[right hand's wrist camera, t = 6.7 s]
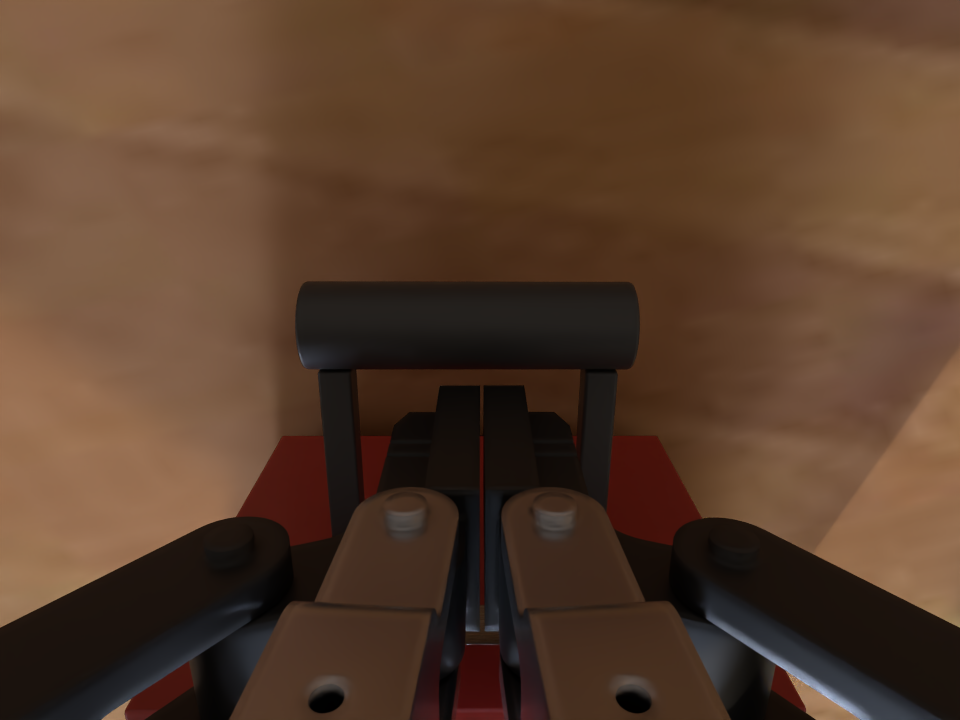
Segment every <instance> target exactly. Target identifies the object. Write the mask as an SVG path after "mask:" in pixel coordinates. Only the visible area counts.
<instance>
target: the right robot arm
mask: <svg viewBox="0 0 960 720" xmlns="http://www.w3.org/2000/svg"><path fill="white" fill-rule="evenodd" d="M483 508H484V623H485V631H499V643H500V662H499V681H500V689H501V697H502V705H503V713H504V720H815V719H814V718H813V717H811V716H810V715H808V714H807V713H805V712H804V711H802V710H801V709H799V708H798V707H796V706H795V705H793V704H792V703H791V702H789V701H788V700H786V699H785V698H783V697H782V696H780V695H779V694H777V693H776V692H774V691H773V690H772V689H771V686H772V681H773V676H774V671H775V666H776V665H778V666H780V667H781V668H783V669H784V670H786V671H787V672H789V673H790V674H792V675H793V676H795V677H796V678H798V679H800V680H801V681H803V682H804V683H806V684H807V685H809V686H810V687H812V688H813V689H815V690H816V691H818V692H820V693H821V694H823V695H824V696H826V697H827V698H829V699H830V700H832V701H833V702H835V703H836V704H838V705H840V706H841V707H843V708H844V709H846V710H847V711H849V712H850V713H852V714H853V715H855V716H856V717H857V718H859V719H860V720H960V628H959V627H957V626H955V625H953V624H951V623H949V622H947V621H945V620H943V619H941V618H939V617H937V616H935V615H933V614H931V613H929V612H927V611H925V610H923V609H921V608H919V607H917V606H915V605H913V604H911V603H909V602H907V601H905V600H903V599H901V598H899V597H897V596H895V595H893V594H891V593H889V592H887V591H885V590H883V589H881V588H879V587H877V586H875V585H873V584H871V583H869V582H867V581H865V580H863V579H861V578H859V577H857V576H855V575H853V574H851V573H849V572H847V571H845V570H843V569H841V568H839V567H837V566H835V565H833V564H831V563H829V562H827V561H825V560H823V559H821V558H819V557H817V556H815V555H813V554H811V553H809V552H807V551H805V550H803V549H801V548H799V547H797V546H795V545H793V544H791V543H789V542H787V541H785V540H784V539H782V538H780V537H778V536H776V535H774V534H772V533H770V532H768V531H766V530H764V529H761V528H759V527H757V526H754V525H751V524H749V523H746V522H742V521H738V520H733V519H726V518H703V519H697V520H694V521H690V522H688V523H686V524H684V525H683V526H681V527H680V528H679V529H678V530H677V531H676V533H675V535H674V537H673V545H667V544H662V543H657V542H653V541H648V540H643V539H639V538H635V537H632V536H629V535H626V534H624V533H622V532H620V531H617V530H615V529H614V528H613V526H612V524H611V522H610V520H609V517H608V515H607V513H606V511H605V509H604V508H603V507H602V506H601V505H600V503H598V502H597V501H596V500H594V499H593V498H591V497H589V494H588V491H587V487H586V483H585V480H584V476H583V472H582V469H581V465H580V462H579V458H578V457H577V451H576V447H575V444H574V440H573V436H572V433H571V429H570V426H569V424H567V423H566V422H565V421H564V420H563V419H561V418H560V417H559V416H558V415H557V414H556V413H554V412H528V408H527V402H526V395H525V389H524V385H484V395H483ZM466 632H480V386H440V387H439V393H438V400H437V407H436V412H409V413H408V414H407V415H406V416H405V417H403V418H402V419H401V420H400V421H399V422H398V423H396V424H395V425H394V428H393V432H392V436H391V439H390V444H389V447H388V451H387V457H386V458H385V462H384V466H383V470H382V473H381V477H380V481H379V485H378V488H377V492H376V494H375V495H372V496H371V497H369V498H367V499H366V500H364V501H363V502H362V503H360V505H359V506H358V507H357V508H356V509H355V511H354V513H353V515H352V517H351V520H350V522H349V524H348V526H347V529H346V531H345V532H344V533H341V534H339V535H336V536H333V537H330V538H327V539H323V540H319V541H314V542H309V543H304V544H299V545H294V546H290V539H289V535H288V532H287V530H286V529H285V528H284V527H283V526H282V525H280V524H279V523H277V522H275V521H273V520H270V519H267V518H262V517H251V516H245V517H234V518H228V519H224V520H220V521H216V522H213V523H210V524H207V525H205V526H203V527H201V528H198V529H196V530H194V531H192V532H190V533H188V534H186V535H184V536H183V537H181V538H179V539H177V540H175V541H173V542H171V543H169V544H167V545H165V546H163V547H161V548H159V549H157V550H155V551H153V552H151V553H149V554H147V555H145V556H143V557H141V558H139V559H137V560H135V561H133V562H131V563H129V564H127V565H125V566H123V567H121V568H119V569H117V570H115V571H113V572H111V573H109V574H107V575H105V576H103V577H101V578H99V579H97V580H95V581H93V582H91V583H89V584H87V585H85V586H83V587H81V588H79V589H77V590H75V591H73V592H71V593H69V594H67V595H65V596H63V597H61V598H59V599H57V600H55V601H53V602H51V603H49V604H47V605H45V606H43V607H41V608H39V609H37V610H35V611H33V612H31V613H29V614H27V615H25V616H23V617H21V618H19V619H17V620H15V621H13V622H11V623H9V624H7V625H5V626H3V627H1V628H0V720H101V719H102V718H104V717H105V716H106V715H107V714H109V713H110V712H111V711H113V710H114V709H116V708H117V707H119V706H120V705H122V704H124V703H125V702H127V701H128V700H130V699H131V698H133V697H134V696H136V695H137V694H139V693H140V692H142V691H144V690H145V689H147V688H148V687H150V686H151V685H153V684H154V683H156V682H157V681H159V680H160V679H162V678H164V677H165V676H167V675H168V674H170V673H171V672H173V671H174V670H176V669H177V668H179V667H180V666H182V665H184V664H185V663H187V662H188V661H189V665H190V670H191V675H192V680H193V685H194V686H193V687H191V688H190V689H189V690H187V691H186V692H184V693H183V694H181V695H180V696H178V697H177V698H175V699H174V700H172V701H171V702H169V703H168V704H167V705H165V706H164V707H162V708H161V709H159V710H158V711H156V712H155V713H153V714H152V715H150V716H149V717H147V718H146V719H145V720H456V713H457V705H458V697H459V689H460V681H461V661H462V658H463V656H464V652H465V637H466Z"/></svg>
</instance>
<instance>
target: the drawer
mask: <svg viewBox="0 0 960 720" xmlns="http://www.w3.org/2000/svg"><path fill="white" fill-rule="evenodd" d="M295 333H296V343H297V349H298V354H299V357H300V360H301V363H302V365H303V366H304V367H305V368H307V369H320V370H319V372H318V382H319V393H320V405H321V416H322V427H323V436H283V437H282V438H281V440H280V441H279V443H278V445H277V447H276V448H275V450H274V452H273V454H272V455H271V457H270V459H269V461H268V462H267V464H266V466H265V468H264V469H263V471H262V473H261V475H260V476H259V478H258V480H257V481H256V483H255V485H254V487H253V488H252V490H251V492H250V494H249V495H248V497H247V499H246V501H245V502H244V504H243V506H242V508H241V509H240V511H239V513H238V515H237V516H236V517H245V516H251V517H262V518H267V519H270V520H273V521H275V522H277V523H279V524H280V525H282V526H283V527H284V528H285V529H286V530H287V532H288V535H289V539H290V546H294V545H299V544H304V543H309V542H314V541H319V540H323V539H327V538H330V537H333V536H336V535H339V534H341V533H344V532H345V531H346V529H347V526H348V524H349V522H350V520H351V517H352V515H353V513H354V511H355V509H356V508H357V507H358V506H359V505H360V503H362V502H363V501H364V500H366V499H367V498H369V497H371V496H372V495H375V494H376V492H377V488H378V485H379V481H380V477H381V473H382V470H383V466H384V462H385V458H386V457H387V451H388V447H389V444H390V439H391V436H360V420H359V405H358V390H357V375H356V369H581V373H580V390H579V406H578V423H577V436H573V440H574V444H575V447H576V451H577V457H578V458H579V462H580V465H581V469H582V472H583V476H584V480H585V483H586V487H587V491H588V494H589V497H591V498H593V499H594V500H596V501H597V502H598V503H600V505H601V506H602V507H603V508H604V509H605V511H606V513H607V515H608V517H609V520H610V522H611V524H612V526H613V528H614V529H615V530H617V531H620V532H622V533H624V534H626V535H629V536H632V537H635V538H639V539H643V540H648V541H653V542H657V543H662V544H667V545H673V537H674V535H675V533H676V531H677V530H678V529H679V528H680V527H681V526H683V525H684V524H686V523H688V522H690V521H694V520H697V519H702V517H701V516H700V514H699V512H698V510H697V508H696V506H695V505H694V503H693V501H692V499H691V497H690V496H689V494H688V492H687V490H686V488H685V486H684V485H683V483H682V481H681V479H680V477H679V475H678V474H677V472H676V470H675V468H674V466H673V464H672V463H671V461H670V459H669V457H668V455H667V454H666V452H665V450H664V448H663V446H662V444H661V443H660V441H659V439H658V437H657V436H613V427H614V415H615V403H616V390H617V378H618V374H617V371H616V370H615V369H629V368H631V367H632V366H633V364H634V361H635V358H636V355H637V350H638V344H639V334H640V314H639V304H638V298H637V294H636V290H635V288H634V286H633V284H631V283H629V282H305V283H304V284H303V285H302V286H301V288H300V291H299V294H298V298H297V304H296V314H295ZM499 662H500V643H499V631H485V623H484V508H483V436H480V632H466V637H465V652H464V656H463V658H462V661H461V681H460V689H459V697H458V705H457V713H456V720H504V713H503V705H502V697H501V689H500V681H499ZM193 686H194V685H193V680H192V675H191V670H190V665H189V661H188V662H187V663H185V664H184V665H182V666H180V667H179V668H177V669H176V670H174V671H173V672H171V673H170V674H168V675H167V676H165V677H164V678H162V679H160V680H159V681H157V682H156V683H154V684H153V685H151V686H150V687H148V688H147V689H145V690H144V691H142V692H140V693H139V694H137V695H136V696H134V697H133V698H132V699H131V701H130V702H129V704H128V706H127V708H126V710H125V718H126V720H145V719H146V718H147V717H149V716H150V715H152V714H153V713H155V712H156V711H158V710H159V709H161V708H162V707H164V706H165V705H167V704H168V703H169V702H171V701H172V700H174V699H175V698H177V697H178V696H180V695H181V694H183V693H184V692H186V691H187V690H189V689H190V688H191V687H193ZM771 689H772V690H773V691H774V692H776V693H777V694H779V695H780V696H782V697H783V698H785V699H786V700H788V701H789V702H791V703H792V704H793V705H795V706H796V707H798V708H799V709H801V710H802V711H804V712H805V713H806V708H805V706H804V704H803V702H802V700H801V698H800V696H799V695H798V693H797V691H796V689H795V687H794V685H793V684H792V682H791V680H790V678H789V676H788V674H787V673H786V671H785V670H784V669H783V668H781V667H780V666H778V665H776V666H775V671H774V676H773V681H772V686H771Z"/></svg>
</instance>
